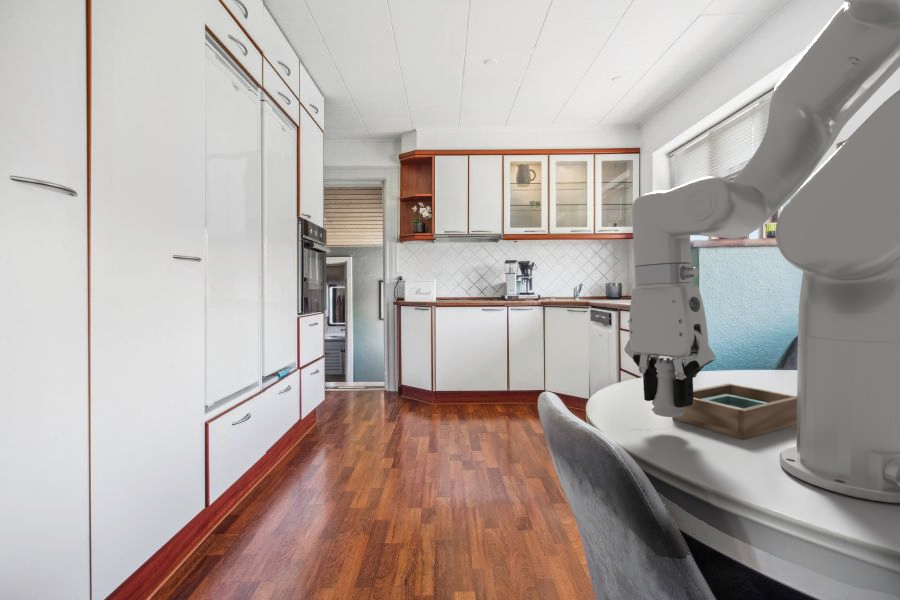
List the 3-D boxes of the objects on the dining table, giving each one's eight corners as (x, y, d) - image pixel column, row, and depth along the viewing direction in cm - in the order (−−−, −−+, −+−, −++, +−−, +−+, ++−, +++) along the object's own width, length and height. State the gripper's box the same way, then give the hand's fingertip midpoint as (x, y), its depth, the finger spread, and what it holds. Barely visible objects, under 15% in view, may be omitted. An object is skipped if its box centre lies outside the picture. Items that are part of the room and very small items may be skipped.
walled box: (801, 423, 67) (802, 397, 67) (743, 439, 61) (744, 411, 60) (729, 405, 77) (729, 383, 77) (672, 418, 70) (672, 393, 70)
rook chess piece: (677, 409, 66) (675, 356, 66) (691, 417, 62) (688, 360, 62) (647, 410, 67) (645, 357, 67) (658, 418, 62) (655, 361, 62)
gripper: (737, 273, 58) (743, 410, 58) (633, 281, 73) (638, 390, 73) (701, 274, 55) (707, 419, 55) (600, 281, 70) (605, 396, 70)
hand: (667, 401), depth 64 cm, fingers closed on rook chess piece, 4 cm apart
